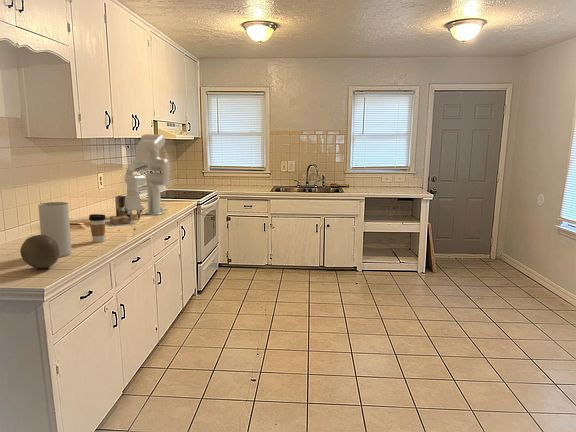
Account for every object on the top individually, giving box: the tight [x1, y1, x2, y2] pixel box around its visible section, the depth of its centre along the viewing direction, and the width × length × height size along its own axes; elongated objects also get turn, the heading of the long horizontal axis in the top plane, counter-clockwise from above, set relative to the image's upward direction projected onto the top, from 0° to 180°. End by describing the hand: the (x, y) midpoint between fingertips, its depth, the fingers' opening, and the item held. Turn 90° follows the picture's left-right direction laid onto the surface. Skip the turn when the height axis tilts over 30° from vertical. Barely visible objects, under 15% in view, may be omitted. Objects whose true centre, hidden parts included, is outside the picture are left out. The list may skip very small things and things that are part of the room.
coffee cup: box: [88, 213, 107, 244], centre depth 231 cm, size 8×8×15 cm
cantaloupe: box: [19, 234, 60, 270], centre depth 180 cm, size 14×14×15 cm
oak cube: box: [129, 213, 139, 221], centre depth 288 cm, size 5×5×5 cm
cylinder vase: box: [37, 201, 72, 258], centre depth 202 cm, size 12×12×25 cm
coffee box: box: [114, 195, 133, 216], centre depth 298 cm, size 9×6×16 cm
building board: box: [105, 220, 137, 228], centre depth 275 cm, size 17×17×2 cm
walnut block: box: [109, 215, 130, 225], centre depth 275 cm, size 10×10×4 cm
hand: (133, 219), depth 288 cm, fingers open, 5 cm apart
